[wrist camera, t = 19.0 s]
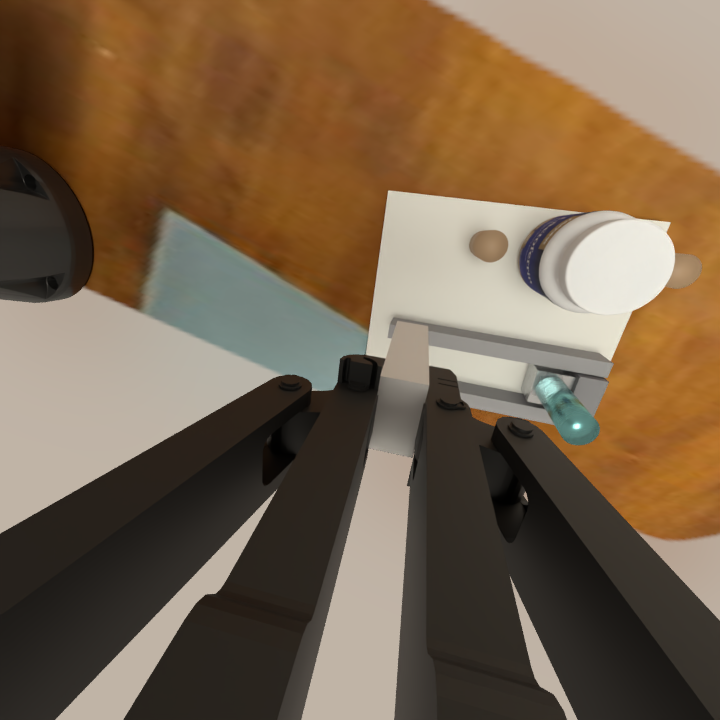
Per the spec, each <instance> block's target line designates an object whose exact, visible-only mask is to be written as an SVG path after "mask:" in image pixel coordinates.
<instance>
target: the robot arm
mask: <svg viewBox="0 0 720 720" xmlns="http://www.w3.org/2000/svg"><path fill="white" fill-rule="evenodd" d="M91 266H92V242H91V236H90V231H89V227H88V224H87V221H86V218H85V216H84V213H83V211H82V209H81V207H80V205H79V203H78V201H77V199H76V197H75V196H74V194H73V192H72V191H71V190H70V188H69V187H68V185H67V184H66V183H65V181H64V180H63V179H62V178H61V177H60V176H59V175H58V174H57V172H56V171H54V170H53V169H52V168H51V167H50V166H49V165H48V164H46V163H45V162H44V161H42V160H41V159H39V158H38V157H36V156H34V155H33V154H30V153H28V152H26V151H23V150H19V149H15V148H10V147H4V146H0V299H3V300H13V301H22V302H32V303H40V302H48V301H55V300H60V299H65V298H69V297H71V296H73V295H75V294H76V293H77V292H78V291H80V290H81V289H82V287H83V286H84V285H85V283H86V281H87V279H88V277H89V274H90V271H91ZM457 382H458V381H457V377H456V375H455V374H454V373H453V372H452V371H451V370H450V369H445V368H439V367H434V366H429V344H428V326H425V325H419V324H413V323H407V322H401V321H397V323H396V327H395V330H394V333H393V336H392V340H391V343H390V346H389V349H388V353H387V356H386V359H385V358H380V357H375V356H369V355H357V354H355V355H347V356H343V357H342V358H341V359H340V365H339V374H338V383H337V384H336V386H335V388H334V390H329V391H312V383H311V382H310V381H309V380H307V379H305V378H303V377H299V376H297V375H284V376H279V377H276V378H273V379H271V380H269V381H268V382H266V383H264V384H262V385H261V386H259V387H257V388H255V389H254V390H252V391H250V392H248V393H247V394H245V395H243V396H241V397H239V398H238V399H236V400H234V401H232V402H231V403H229V404H227V405H226V406H224V407H222V408H220V409H218V410H217V411H215V412H213V413H211V414H210V415H208V416H206V417H204V418H203V419H201V420H199V421H197V422H196V423H194V424H192V425H191V426H189V427H187V428H185V429H184V430H182V431H180V432H178V433H176V434H174V435H173V436H171V437H169V438H167V439H166V440H164V441H162V442H160V443H159V444H157V445H155V446H154V447H152V448H150V449H148V450H146V451H145V452H143V453H141V454H139V455H138V456H136V457H134V458H132V459H131V460H129V461H127V462H125V463H124V464H122V465H120V466H118V467H117V468H115V469H113V470H111V471H110V472H108V473H106V474H104V475H102V476H101V477H99V478H97V479H95V480H94V481H92V482H90V483H88V484H87V485H85V486H83V487H81V488H80V489H78V490H76V491H74V492H73V493H71V494H69V495H68V496H66V497H64V498H62V499H60V500H59V501H57V502H55V503H53V504H52V505H50V506H48V507H47V508H45V509H43V510H41V511H40V512H38V513H36V514H34V515H32V516H31V517H29V518H27V519H26V520H23V521H22V522H20V523H19V524H17V525H15V526H13V527H11V528H9V529H8V530H6V531H4V532H2V533H1V534H0V720H55V719H56V718H57V717H58V716H59V715H60V714H61V713H62V712H63V711H64V710H65V709H66V708H67V707H68V706H69V705H70V704H71V702H72V701H73V700H74V699H75V698H76V697H77V696H78V695H79V694H80V693H81V692H82V691H83V690H84V689H85V688H86V687H87V686H88V685H89V684H90V683H91V682H92V681H93V680H94V679H95V678H96V676H97V675H98V674H99V673H100V672H101V671H102V670H103V669H104V668H105V667H106V666H107V665H108V664H109V663H110V662H111V661H112V660H113V659H114V658H115V657H116V656H117V655H118V654H119V653H120V652H121V651H122V650H123V648H124V647H125V646H126V645H127V644H128V643H129V642H130V641H131V640H132V639H133V638H134V637H135V636H136V635H137V634H138V633H139V632H140V631H141V630H142V629H143V628H144V627H145V626H146V624H148V622H149V621H150V620H151V619H152V618H153V617H154V616H155V615H156V614H157V613H158V612H159V611H160V610H161V609H162V608H163V607H164V606H165V605H166V604H167V603H168V602H169V601H170V600H171V598H173V596H175V595H176V593H177V592H178V591H179V590H180V589H181V588H182V587H183V586H184V585H185V584H186V583H187V582H188V581H189V580H190V579H191V578H192V577H193V576H194V575H195V574H196V573H197V572H198V571H199V569H201V567H202V566H203V565H204V564H205V563H206V562H207V561H208V560H209V559H210V558H211V557H212V556H213V555H214V554H215V553H216V552H217V551H218V550H219V549H220V548H221V547H222V546H223V545H224V544H225V543H226V541H227V540H228V539H229V538H230V537H231V536H232V535H233V534H234V533H235V532H236V531H237V530H238V529H239V528H240V527H241V526H242V525H243V524H244V523H245V522H246V521H247V520H248V519H249V518H250V517H251V516H252V515H253V513H255V511H256V510H257V509H258V508H259V507H260V506H261V505H262V504H263V503H264V502H265V501H266V500H267V499H268V498H269V497H270V496H271V495H272V494H273V493H274V491H276V490H277V491H276V493H275V495H274V497H273V498H272V500H271V502H270V504H269V505H268V507H267V509H266V511H265V513H264V514H263V516H262V518H261V520H260V521H259V523H258V525H257V527H256V529H255V531H254V532H253V534H252V536H251V538H250V539H249V541H248V543H247V545H246V547H245V548H244V550H243V552H242V553H241V555H240V557H239V559H238V561H237V562H236V564H235V566H234V568H233V569H232V571H231V573H230V575H229V577H228V578H227V580H226V582H225V583H224V585H223V586H222V588H221V589H220V590H219V591H218V592H217V593H216V594H207V595H205V596H204V597H203V598H202V599H200V600H199V601H198V602H197V603H196V604H195V606H194V607H193V609H192V610H191V611H190V613H189V614H188V616H187V617H186V619H185V620H184V622H183V623H182V625H181V627H180V628H179V630H178V631H177V633H176V635H175V636H174V638H173V640H172V641H171V643H170V644H169V646H168V648H167V649H166V651H165V653H164V654H163V656H162V658H161V659H160V661H159V663H158V664H157V666H156V667H155V669H154V671H153V672H152V674H151V675H150V677H149V679H148V680H147V682H146V684H145V685H144V687H143V689H142V690H141V692H140V693H139V695H138V697H137V698H136V700H135V702H134V703H133V705H132V707H131V708H130V710H129V712H128V713H127V715H126V716H125V718H124V720H301V718H302V714H303V710H304V706H305V702H306V698H307V694H308V690H309V686H310V682H311V678H312V674H313V670H314V666H315V662H316V658H317V654H318V650H319V646H320V642H321V638H322V634H323V630H324V626H325V623H326V618H327V615H328V611H329V607H330V602H331V599H332V594H333V591H334V587H335V583H336V579H337V575H338V571H339V567H340V563H341V559H342V555H343V551H344V547H345V543H346V539H347V535H348V531H349V527H350V523H351V519H352V515H353V511H354V507H355V503H356V499H357V495H358V491H359V487H360V483H361V479H362V475H363V471H364V468H365V464H366V460H367V455H368V449H369V448H370V449H375V450H380V451H384V452H388V453H393V454H397V455H402V456H407V457H411V458H412V457H413V454H414V458H413V462H412V466H411V471H410V475H409V479H408V484H407V486H410V494H409V510H408V524H407V539H406V554H405V569H404V584H403V599H402V615H401V629H400V645H399V658H398V673H397V688H396V689H397V690H396V704H395V718H394V720H567V719H566V716H565V713H564V711H563V709H562V707H561V706H560V704H559V702H558V701H557V699H556V698H555V696H554V695H553V694H552V693H550V692H548V691H546V690H544V689H543V688H541V687H540V686H539V685H538V683H537V681H536V680H535V678H534V674H533V671H532V668H531V665H530V660H529V656H528V652H527V648H526V643H525V639H524V635H523V631H522V626H521V622H520V619H519V614H518V609H517V605H516V601H515V597H514V593H513V589H512V584H511V580H510V577H511V579H512V581H513V583H514V585H515V587H516V589H517V592H518V593H519V596H520V598H521V600H522V602H523V604H524V606H525V609H526V611H527V613H528V615H529V617H530V619H531V621H532V623H533V626H534V628H535V630H536V632H537V634H538V636H539V638H540V640H541V643H542V645H543V647H544V649H545V651H546V653H547V655H548V657H549V659H550V661H551V664H552V666H553V668H554V670H555V672H556V674H557V676H558V678H559V681H560V683H561V685H562V687H563V689H564V691H565V694H566V696H567V698H568V700H569V702H570V704H571V706H572V708H573V711H574V713H575V715H576V717H577V719H578V720H720V621H719V620H718V618H716V616H715V615H714V614H713V613H712V612H711V611H710V610H709V609H708V608H707V607H706V606H705V605H704V603H703V602H702V601H701V600H700V599H699V598H698V597H697V596H696V595H695V594H694V593H693V592H692V591H691V590H690V588H689V587H688V586H687V585H686V584H685V583H684V582H683V581H682V580H681V579H680V578H679V577H678V576H677V575H676V574H675V572H674V571H673V570H672V569H671V568H670V567H669V566H668V565H667V564H666V563H665V562H664V561H663V560H662V559H661V558H660V556H659V555H658V554H657V553H656V552H655V551H654V550H653V549H652V548H651V547H650V546H649V545H648V544H647V542H646V541H645V540H644V539H643V538H642V537H641V536H640V535H639V534H638V533H637V532H636V531H635V530H634V529H633V528H632V526H631V525H630V524H629V523H628V522H627V521H626V520H625V519H624V518H623V517H622V516H621V515H620V514H619V513H618V511H617V510H616V509H615V508H614V507H613V506H612V505H611V504H610V503H609V502H608V501H607V500H606V499H605V498H604V496H603V495H602V494H601V493H600V492H599V491H598V490H597V489H596V488H595V487H594V486H593V485H592V484H591V483H590V482H589V480H588V479H587V478H586V477H585V476H584V475H583V474H582V473H581V472H580V471H579V470H578V469H577V468H576V467H575V465H574V464H573V463H572V462H571V461H570V460H569V459H568V458H567V457H566V456H565V455H564V454H563V453H562V452H561V450H560V449H559V448H558V447H557V446H556V445H555V444H554V443H553V442H552V441H551V440H550V439H549V438H548V437H547V435H546V434H545V433H544V432H543V431H542V430H540V429H539V428H538V427H537V426H535V425H533V424H531V423H530V422H529V421H526V420H522V419H521V418H513V417H502V418H500V419H498V420H497V422H496V425H495V427H494V426H491V425H489V424H486V423H483V422H481V421H479V420H477V419H475V418H473V417H472V414H471V410H470V407H469V406H468V404H467V403H466V402H464V401H463V400H461V396H460V391H459V388H458V387H459V386H458V383H457ZM414 449H415V452H414ZM525 491H526V493H527V497H528V502H527V500H526V499H525V497H524V496H523V495H524V493H525Z"/></svg>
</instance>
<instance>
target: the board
mask: <svg viewBox="0 0 720 720" xmlns="http://www.w3.org/2000/svg"><path fill="white" fill-rule="evenodd" d="M579 213H583V212H574V211H565V210H556V209H547V208H539V207H530V206H521V205H512V204H503V203H494V202H486V201H477V200H468V199H459V198H450V197H442V196H433V195H424V194H415V193H406V192H397V191H389V190H388V196H387V203H386V211H385V218H384V225H383V233H382V240H381V247H380V254H379V262H378V269H377V276H376V284H375V291H374V298H373V306H372V313H371V320H370V328H369V335H368V342H367V350H366V355H369V356H375V357H380V358H385V359H386V356H387V353H388V349H389V346H390V343H391V340H392V336H393V333H394V330H395V327H396V323H397V321H401V322H407V323H413V324H419V325H425V326H428V344H429V366H434V367H439V368H445V369H450V370H451V371H452V372H453V373H454V374H455V375H456V377H457V381H458V382H457V383H458V386H459V387H458V388H459V391H460V396H461V400H463V401H464V402H466V403H467V404H468V406H469V407H470V408H475V409H480V410H485V411H490V412H495V413H499V414H504V415H509V416H514V417H519V418H523V419H528V420H533V421H538V422H543V423H547V424H552V425H554V423H553V421H552V420H551V418H550V416H549V415H548V413H547V411H546V410H545V408H544V407H543V405H542V404H537V403H532V402H527V401H526V399H525V397H524V395H523V393H522V391H521V386H522V383H523V380H524V377H525V374H526V371H527V368H528V365H529V364H533V365H539V366H544V367H550V368H555V369H561V370H566V371H570V372H571V373H572V374H573V375H574V376H575V377H576V379H575V381H574V384H573V386H572V389H571V391H572V392H573V394H574V395H575V396H576V397H577V398H578V399H579V401H580V402H581V403H582V404H583V405H584V407H585V408H586V409H587V410H588V411H589V413H590V414H591V415H592V416H593V417H594V415H595V412H596V410H597V408H598V406H599V403H600V401H601V399H602V397H603V394H604V392H605V390H606V388H607V385H608V383H609V382H608V381H607V380H606V379H605V378H607V377H608V375H609V373H610V371H611V368H612V366H613V364H614V363H612V362H611V359H612V356H613V354H614V352H615V349H616V347H617V345H618V343H619V340H620V338H621V336H622V333H623V331H624V329H625V326H626V324H627V322H628V320H629V317H630V315H631V313H632V311H630V312H627V313H623V314H618V315H597V314H593V313H576V312H571V311H568V310H565V309H563V308H561V307H559V306H557V305H555V304H554V303H552V302H551V301H549V300H548V299H546V298H545V297H543V296H542V295H540V294H539V293H537V292H535V291H534V290H532V289H531V288H530V287H529V286H528V285H527V284H526V283H525V282H524V281H523V280H522V278H521V276H520V274H519V271H518V264H517V260H518V253H519V249H520V247H521V244H522V242H523V241H524V239H525V238H526V236H527V235H528V234H529V233H530V232H531V231H532V230H533V229H534V228H535V227H536V226H538V225H539V224H541V223H542V222H544V221H546V220H548V219H551V218H554V217H557V216H562V215H570V214H579ZM641 220H644V219H641ZM645 221H649V222H651V223H653V224H655V225H657V226H659V227H660V228H662V229H663V230H664V231H665V232H667V230H668V228H669V225H670V223H671V222H662V221H653V220H645ZM701 271H702V264H701V261H700V260H699V259H698V258H697V257H696V256H694V255H690V254H679V253H675V264H674V269H673V272H672V275H671V277H670V279H669V281H668V282H667V284H666V285H665V287H669V288H674V289H679V288H684V287H687V286H689V285H690V284H692V283H693V282H695V281H696V280H697V278H698V277H699V275H700V274H701ZM604 377H605V378H604Z"/></svg>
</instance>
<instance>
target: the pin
mask: <svg viewBox="0 0 720 720" xmlns="http://www.w3.org/2000/svg"><path fill="white" fill-rule="evenodd" d="M575 379H576V377H575V376H574V375H573V374H572V373H571V372H570V371H566V370H561V369H555V368H550V367H544V366H539V365H533V364H529V365H528V368H527V371H526V374H525V377H524V380H523V383H522V386H521V391H522V393H523V395H524V397H525V399H526V401H527V402H532V403H537V404H542V405H543V407H544V408H545V410H546V411H547V413H548V415H549V416H550V418H551V420H552V421H553V423H554V425H555V426H556V428H557V430H558V431H559V433H560V435H561V436H562V438H563V439H564V440H565V441H566V442H568V443H570V444H573V445H584V444H588V443H590V442H592V441H593V440H594V439H595V438H596V437H597V436H598V434H599V431H600V427H599V424H598V422H597V421H596V420H595V419H594V417H593V416H592V415H591V414H590V413H589V411H588V410H587V409H586V408H585V407H584V405H583V404H582V403H581V402H580V401H579V399H578V398H577V397H576V396H575V395H574V394H573V392H572V391H571V389H572V386H573V384H574V381H575Z"/></svg>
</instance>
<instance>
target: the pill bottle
mask: <svg viewBox="0 0 720 720" xmlns="http://www.w3.org/2000/svg"><path fill="white" fill-rule="evenodd" d="M517 264H518V271H519V274H520V276H521V278H522V280H523V281H524V282H525V283H526V284H527V285H528V286H529V287H530V288H531V289H532V290H534V291H535V292H537V293H539V294H540V295H542V296H543V297H545V298H546V299H548V300H549V301H551V302H552V303H554V304H555V305H557V306H559V307H561V308H563V309H565V310H568V311H571V312H576V313H593V314H597V315H618V314H623V313H627V312H630V311H633V310H635V309H638V308H640V307H642V306H643V305H645V304H647V303H648V302H650V301H651V300H652V299H653V298H655V297H656V296H657V295H658V294H659V293H660V292H661V291H662V289H663V288H664V287H665V285H666V284H667V282H668V281H669V279H670V277H671V275H672V272H673V269H674V264H675V251H674V245H673V243H672V241H671V239H670V237H669V236H668V234H667V233H666V232H665V231H664V230H663V229H662V228H660V227H659V226H657V225H655V224H653V223H651V222H649V221H645V220H641V219H636V218H634V217H632V216H630V215H628V214H625V213H622V212H617V211H595V212H587V213H579V214H570V215H562V216H557V217H554V218H551V219H548V220H546V221H544V222H542V223H541V224H539V225H538V226H536V227H535V228H534V229H533V230H532V231H531V232H530V233H529V234H528V235H527V236H526V238H525V239H524V241H523V242H522V244H521V247H520V249H519V253H518V260H517Z"/></svg>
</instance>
